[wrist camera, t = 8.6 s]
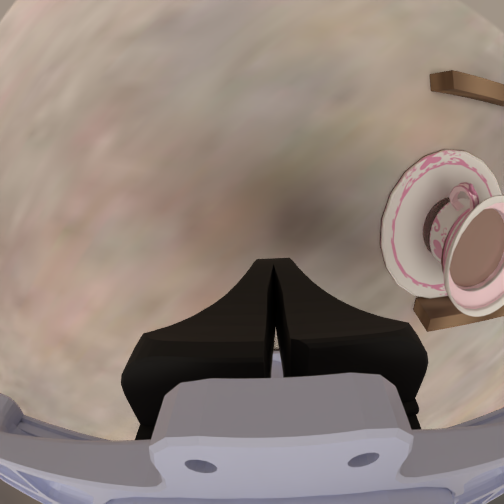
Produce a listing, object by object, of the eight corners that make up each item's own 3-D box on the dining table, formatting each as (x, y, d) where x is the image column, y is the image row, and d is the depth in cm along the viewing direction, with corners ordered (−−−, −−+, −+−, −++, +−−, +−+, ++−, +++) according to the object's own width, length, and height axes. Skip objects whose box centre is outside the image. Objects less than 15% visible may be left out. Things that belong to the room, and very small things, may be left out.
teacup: (508, 251, 21) (549, 283, 15) (405, 318, 24) (433, 367, 18) (477, 124, 17) (532, 133, 11) (351, 195, 20) (383, 226, 14)
